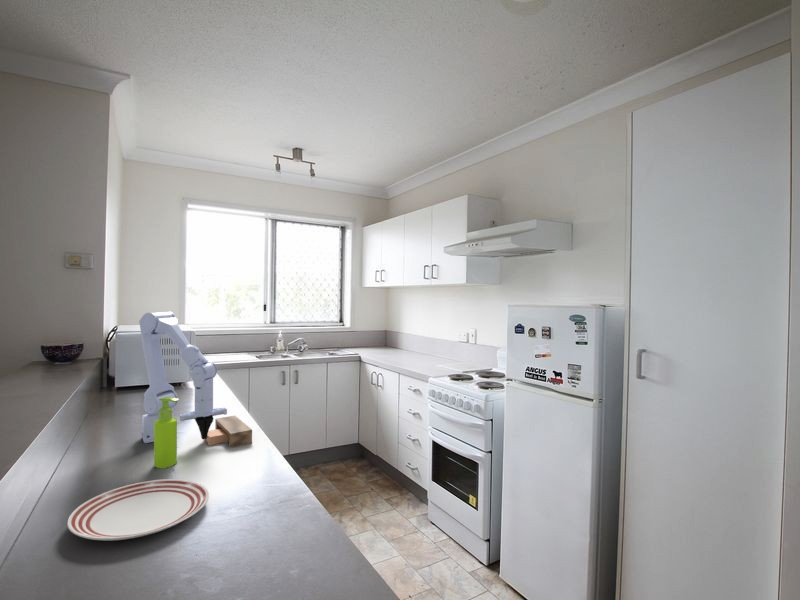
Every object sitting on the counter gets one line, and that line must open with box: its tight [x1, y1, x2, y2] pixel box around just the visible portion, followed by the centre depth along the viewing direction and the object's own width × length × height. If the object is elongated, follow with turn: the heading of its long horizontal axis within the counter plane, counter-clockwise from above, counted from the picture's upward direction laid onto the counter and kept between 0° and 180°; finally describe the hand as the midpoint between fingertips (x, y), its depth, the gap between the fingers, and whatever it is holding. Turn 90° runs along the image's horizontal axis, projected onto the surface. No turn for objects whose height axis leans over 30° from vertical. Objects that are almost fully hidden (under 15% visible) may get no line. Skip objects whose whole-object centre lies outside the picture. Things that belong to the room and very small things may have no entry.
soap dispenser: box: [153, 397, 180, 469], centre depth 125 cm, size 6×7×20 cm
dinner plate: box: [66, 478, 210, 542], centre depth 97 cm, size 27×27×3 cm
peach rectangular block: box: [204, 429, 229, 446], centre depth 147 cm, size 8×7×3 cm
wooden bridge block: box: [214, 415, 253, 448], centre depth 149 cm, size 7×20×5 cm, turn 37°
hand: (204, 438), depth 144 cm, fingers closed
